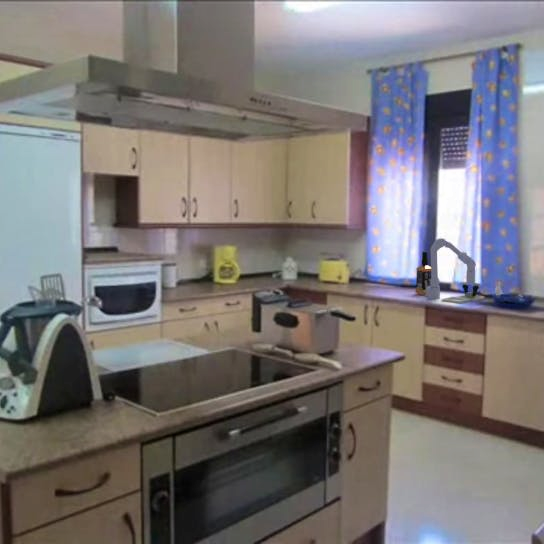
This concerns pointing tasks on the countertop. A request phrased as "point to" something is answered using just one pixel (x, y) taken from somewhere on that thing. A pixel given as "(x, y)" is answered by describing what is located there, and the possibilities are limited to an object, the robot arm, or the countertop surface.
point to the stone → (469, 295)
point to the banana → (499, 289)
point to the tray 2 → (473, 299)
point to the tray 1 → (456, 300)
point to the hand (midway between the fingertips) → (470, 296)
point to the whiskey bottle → (423, 275)
